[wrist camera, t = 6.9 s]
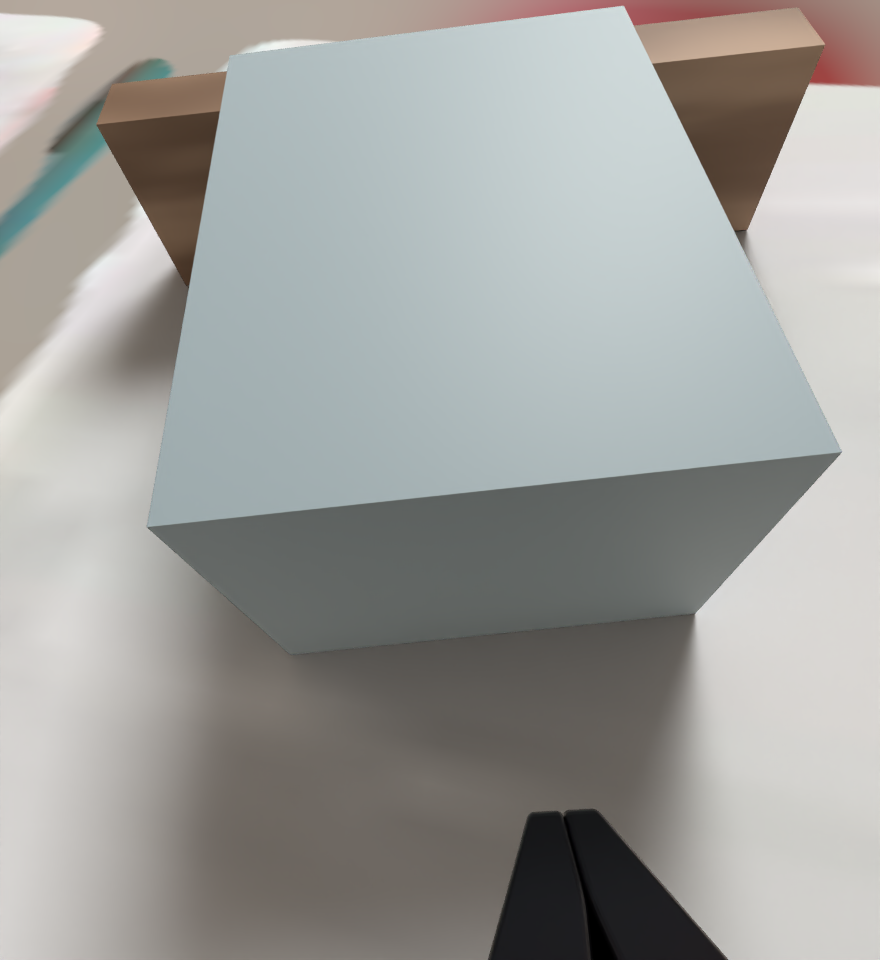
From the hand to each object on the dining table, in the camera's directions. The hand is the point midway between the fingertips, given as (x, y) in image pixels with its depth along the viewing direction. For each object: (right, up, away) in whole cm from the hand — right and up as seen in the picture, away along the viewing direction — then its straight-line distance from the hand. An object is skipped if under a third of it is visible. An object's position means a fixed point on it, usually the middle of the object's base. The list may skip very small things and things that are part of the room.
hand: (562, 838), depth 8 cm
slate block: (-1, +7, +15) cm, 16 cm away
